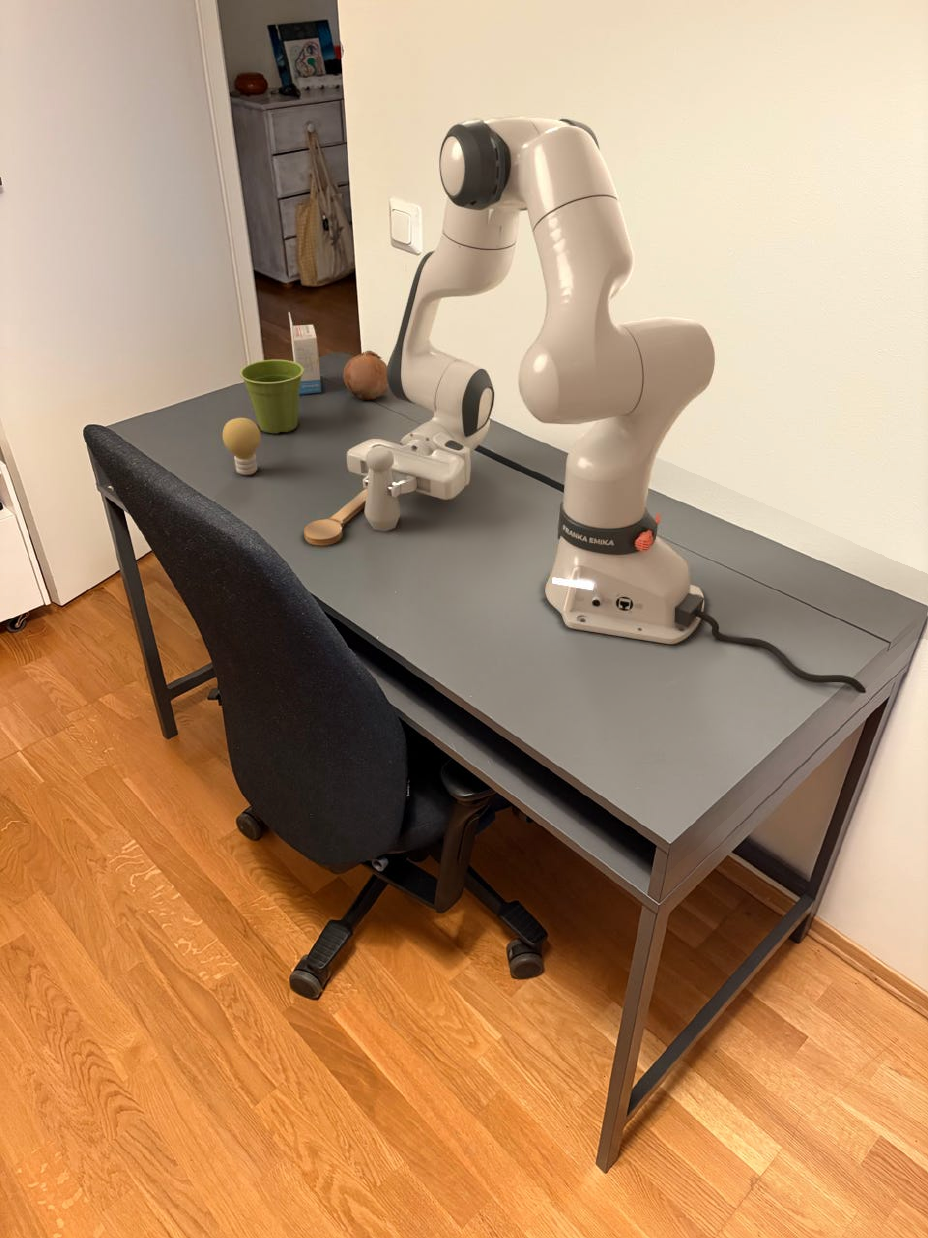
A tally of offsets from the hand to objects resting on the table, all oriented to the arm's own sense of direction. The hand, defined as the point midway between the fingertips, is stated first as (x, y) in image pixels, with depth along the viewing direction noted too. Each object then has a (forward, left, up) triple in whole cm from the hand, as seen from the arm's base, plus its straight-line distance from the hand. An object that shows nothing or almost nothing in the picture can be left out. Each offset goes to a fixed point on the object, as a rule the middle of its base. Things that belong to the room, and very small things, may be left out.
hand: (378, 488), depth 143 cm
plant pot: (+37, -24, -7) cm, 44 cm away
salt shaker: (0, -1, -7) cm, 7 cm away
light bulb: (+31, -6, -7) cm, 32 cm away
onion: (+29, -44, -7) cm, 53 cm away
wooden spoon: (+7, -2, -7) cm, 10 cm away
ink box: (+43, -43, -7) cm, 61 cm away
